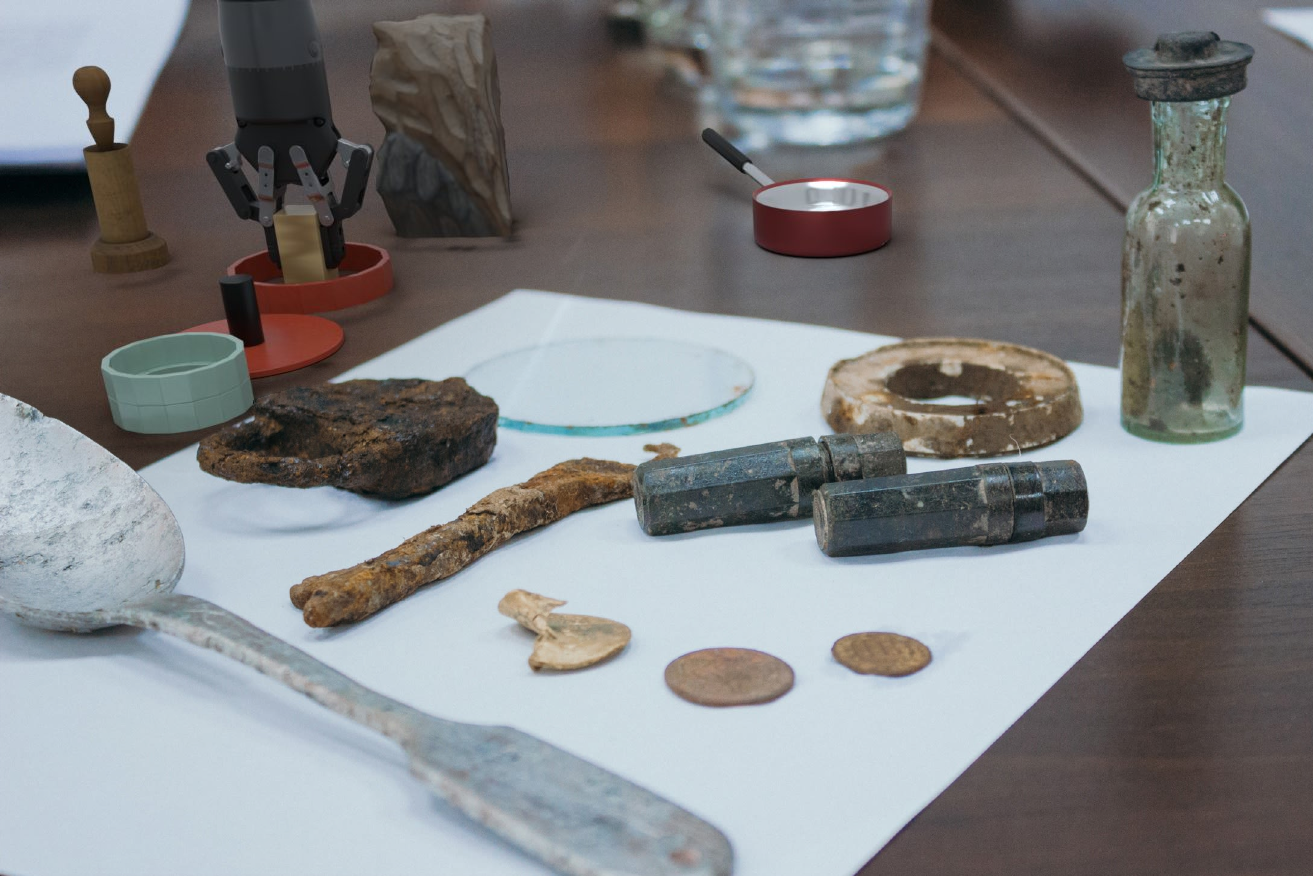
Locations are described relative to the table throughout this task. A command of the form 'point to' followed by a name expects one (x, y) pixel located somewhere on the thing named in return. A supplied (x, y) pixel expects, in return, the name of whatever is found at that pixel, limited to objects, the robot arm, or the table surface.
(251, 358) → the pan lid
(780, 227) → the frying pan
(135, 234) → the mortar and pestle
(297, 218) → the block
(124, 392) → the bowl
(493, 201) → the two-tone stone chunk
